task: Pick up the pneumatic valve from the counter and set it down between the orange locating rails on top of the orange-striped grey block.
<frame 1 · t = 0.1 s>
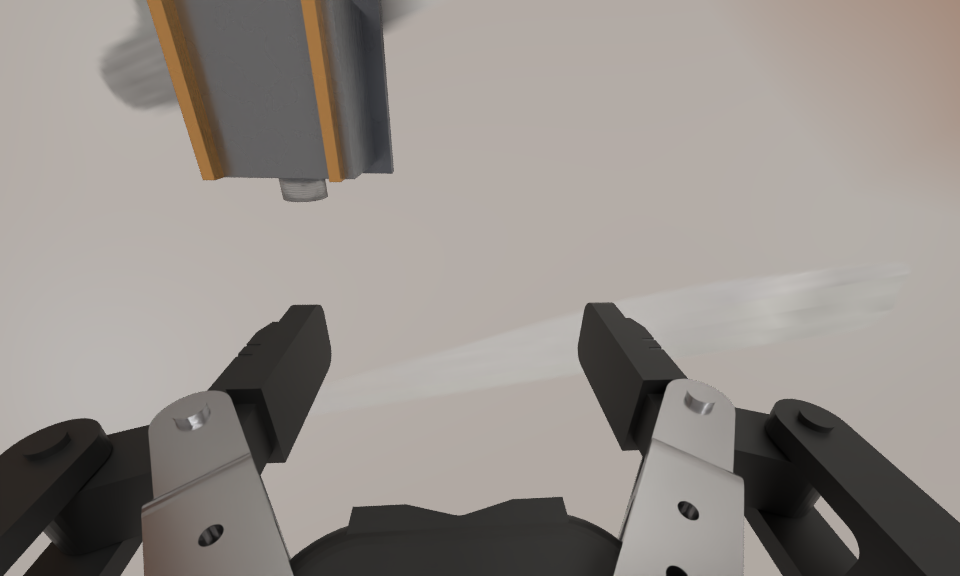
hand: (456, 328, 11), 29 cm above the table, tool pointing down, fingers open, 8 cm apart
orange-striped grey block: (309, 90, 33), on the table
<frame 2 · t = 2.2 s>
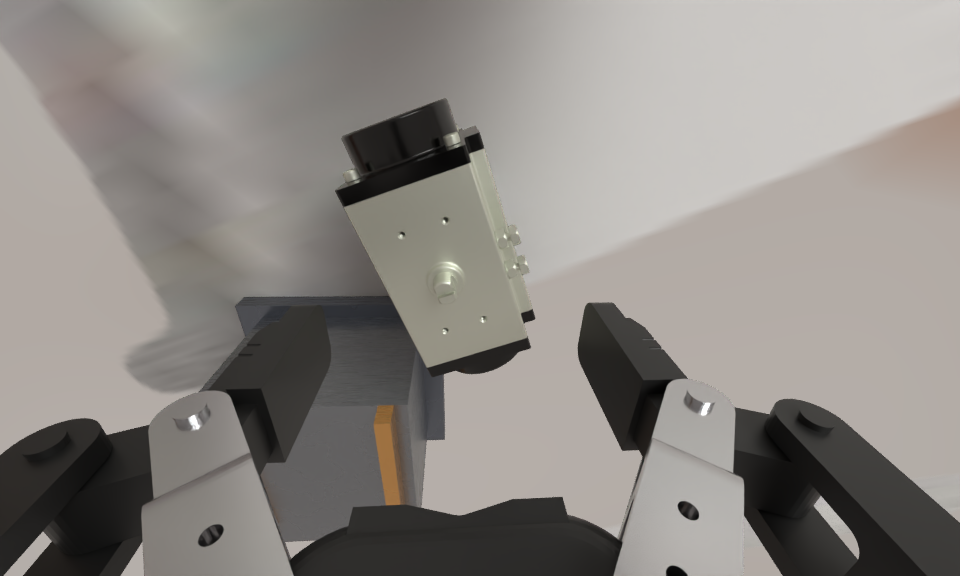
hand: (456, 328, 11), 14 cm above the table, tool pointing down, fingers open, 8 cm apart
pneumatic valve: (455, 201, 24), on the table
orange-striped grey block: (357, 371, 30), on the table
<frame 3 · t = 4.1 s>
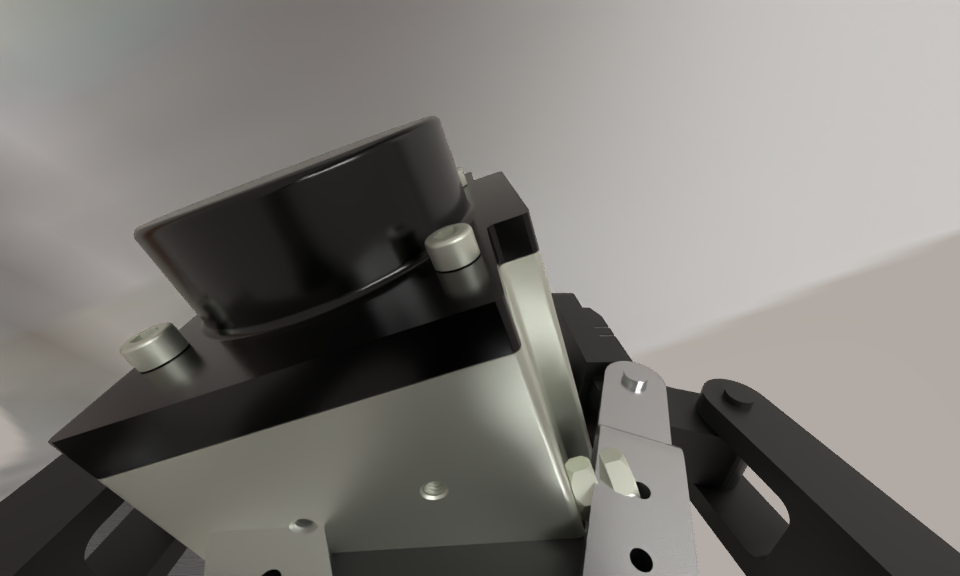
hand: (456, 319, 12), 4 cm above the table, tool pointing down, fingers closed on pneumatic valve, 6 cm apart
pneumatic valve: (455, 270, 15), on the table, touching gripper
orange-striped grey block: (316, 495, 21), on the table
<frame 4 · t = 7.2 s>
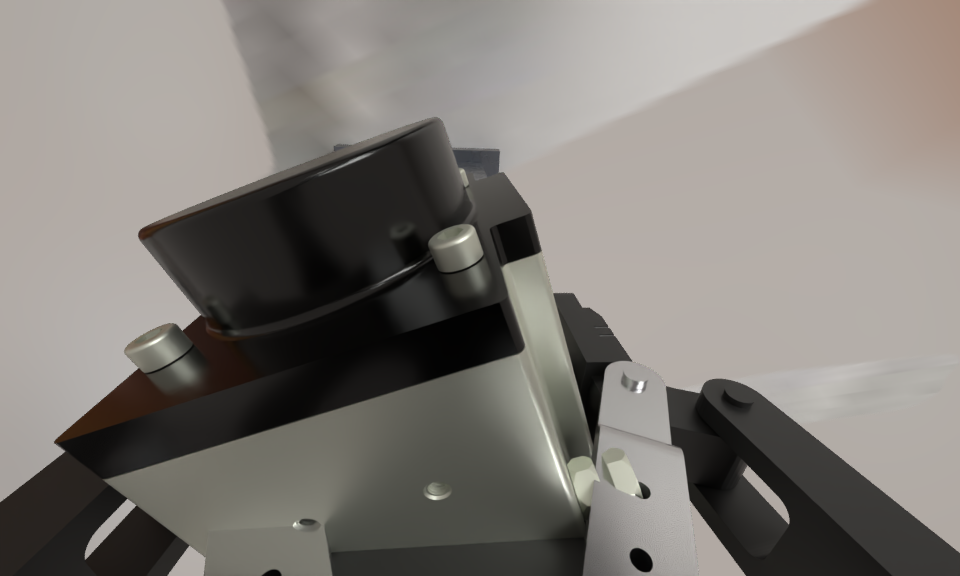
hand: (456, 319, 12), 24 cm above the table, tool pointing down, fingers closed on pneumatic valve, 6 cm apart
pneumatic valve: (456, 270, 15), point 21 cm above the table, touching gripper
orange-striped grey block: (422, 223, 35), on the table
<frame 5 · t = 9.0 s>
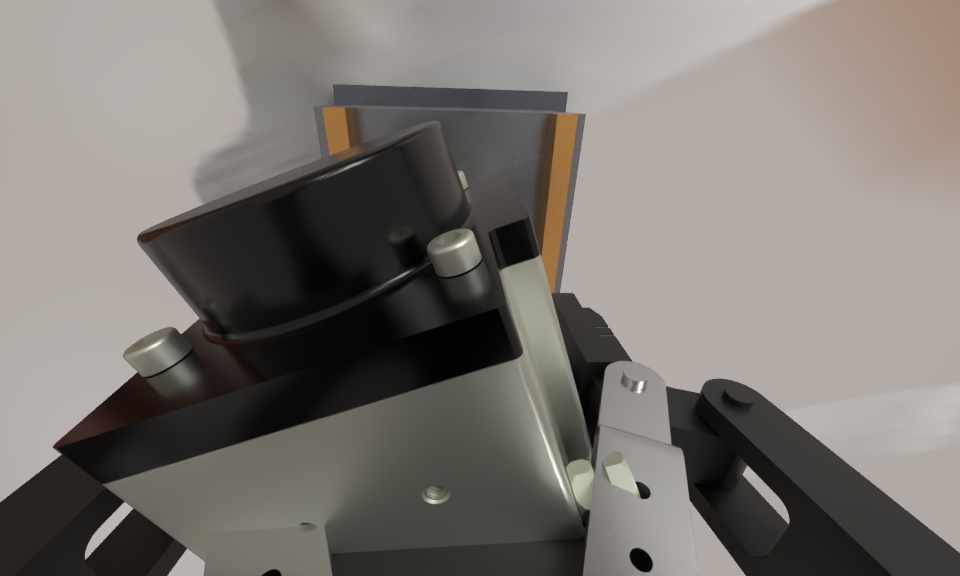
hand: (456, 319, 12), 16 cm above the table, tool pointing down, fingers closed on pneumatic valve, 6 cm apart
pneumatic valve: (456, 271, 15), point 12 cm above the table, touching gripper
orange-striped grey block: (453, 200, 26), on the table
when the fingers open (15 cm above the table, at t = 10.2 s): pneumatic valve drops 2 cm, resting on orange-striped grey block.
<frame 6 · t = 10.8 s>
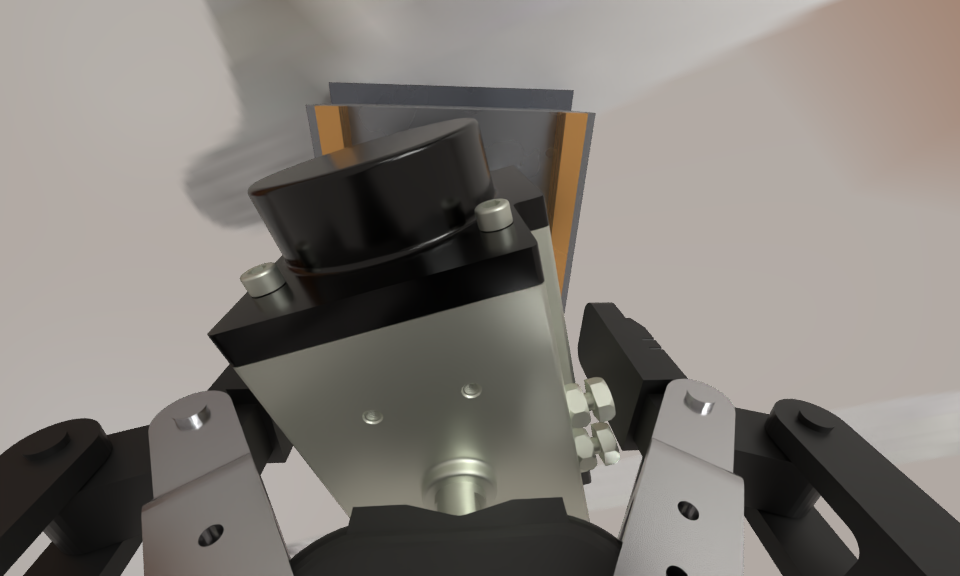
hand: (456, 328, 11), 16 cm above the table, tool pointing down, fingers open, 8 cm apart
pneumatic valve: (455, 253, 17), point 9 cm above the table, touching orange-striped grey block
orange-striped grey block: (454, 202, 25), on the table
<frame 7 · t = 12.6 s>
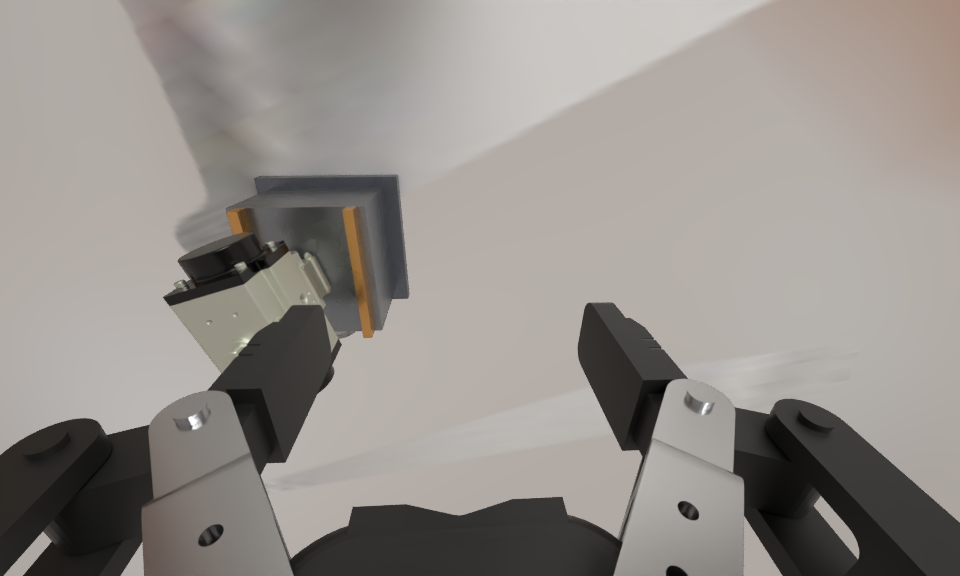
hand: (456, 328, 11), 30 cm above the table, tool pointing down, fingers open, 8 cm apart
pneumatic valve: (311, 273, 32), point 9 cm above the table, touching orange-striped grey block
orange-striped grey block: (341, 240, 41), on the table
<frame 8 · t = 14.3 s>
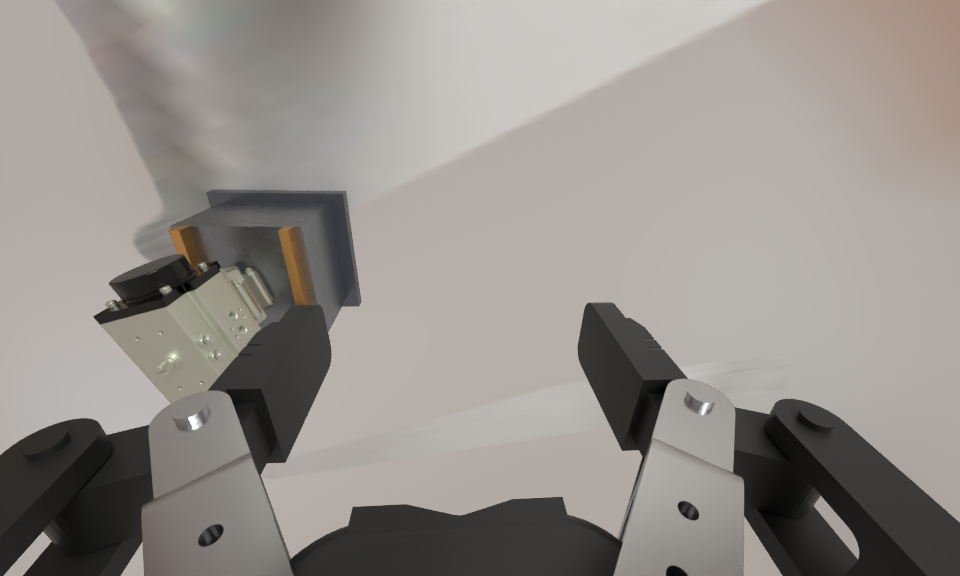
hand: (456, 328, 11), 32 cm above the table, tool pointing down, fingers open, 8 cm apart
pneumatic valve: (255, 286, 35), point 9 cm above the table, touching orange-striped grey block
orange-striped grey block: (293, 250, 43), on the table
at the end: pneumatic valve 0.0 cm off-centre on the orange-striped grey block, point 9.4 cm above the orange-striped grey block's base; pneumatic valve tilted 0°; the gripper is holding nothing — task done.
